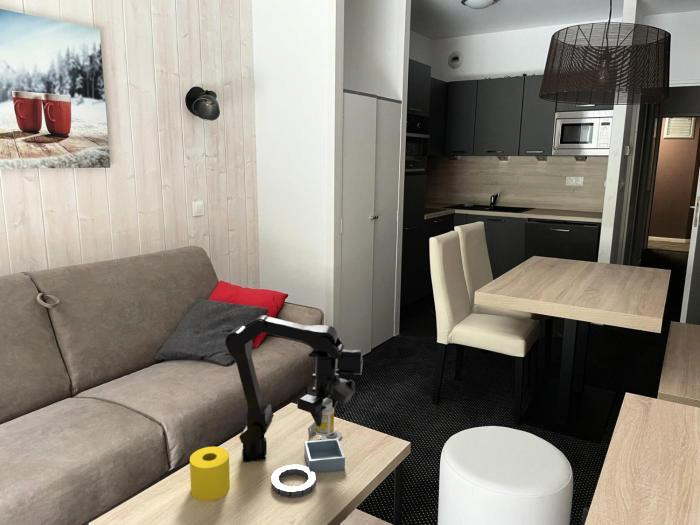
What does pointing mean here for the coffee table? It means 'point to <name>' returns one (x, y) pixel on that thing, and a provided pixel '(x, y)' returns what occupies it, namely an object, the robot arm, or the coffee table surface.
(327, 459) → the bin
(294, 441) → the coffee table surface
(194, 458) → the yellow paper roll
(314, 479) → the socket ring
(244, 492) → the coffee table surface
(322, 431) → the supplement bottle
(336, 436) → the bracket
